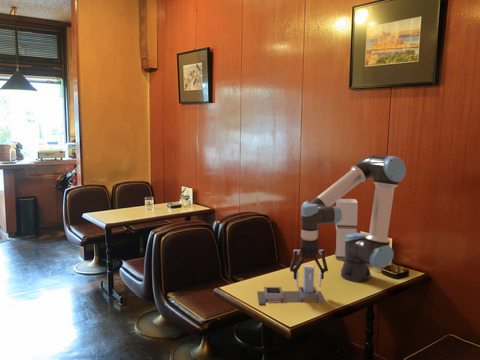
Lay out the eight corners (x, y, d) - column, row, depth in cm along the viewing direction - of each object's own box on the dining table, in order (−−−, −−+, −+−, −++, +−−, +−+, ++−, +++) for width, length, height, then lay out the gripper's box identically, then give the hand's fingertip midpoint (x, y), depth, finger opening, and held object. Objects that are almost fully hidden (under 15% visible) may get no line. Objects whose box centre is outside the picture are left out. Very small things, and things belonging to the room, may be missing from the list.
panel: (320, 293, 183) (320, 285, 183) (326, 304, 171) (326, 295, 171) (257, 293, 183) (257, 285, 183) (258, 304, 171) (258, 296, 171)
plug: (311, 294, 179) (312, 264, 177) (314, 300, 174) (314, 268, 172) (303, 294, 179) (303, 264, 177) (305, 300, 174) (305, 268, 172)
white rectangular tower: (353, 255, 239) (355, 199, 235) (355, 260, 229) (357, 202, 224) (334, 254, 241) (336, 198, 237) (335, 259, 231) (337, 201, 227)
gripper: (332, 235, 178) (330, 282, 180) (283, 236, 177) (282, 282, 180) (336, 240, 170) (334, 289, 173) (285, 240, 170) (284, 289, 173)
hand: (308, 285), depth 177 cm, fingers open, 10 cm apart
